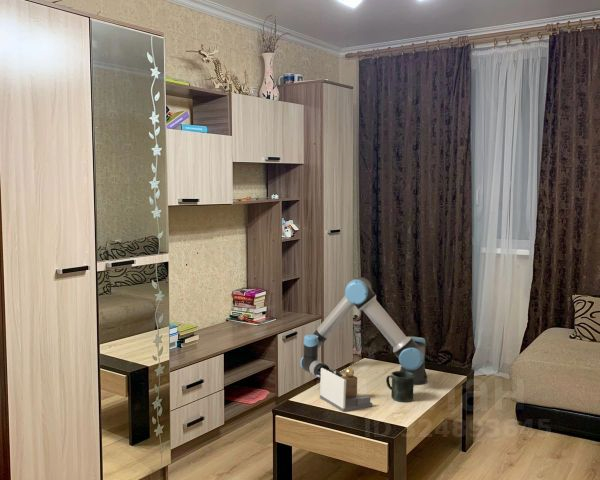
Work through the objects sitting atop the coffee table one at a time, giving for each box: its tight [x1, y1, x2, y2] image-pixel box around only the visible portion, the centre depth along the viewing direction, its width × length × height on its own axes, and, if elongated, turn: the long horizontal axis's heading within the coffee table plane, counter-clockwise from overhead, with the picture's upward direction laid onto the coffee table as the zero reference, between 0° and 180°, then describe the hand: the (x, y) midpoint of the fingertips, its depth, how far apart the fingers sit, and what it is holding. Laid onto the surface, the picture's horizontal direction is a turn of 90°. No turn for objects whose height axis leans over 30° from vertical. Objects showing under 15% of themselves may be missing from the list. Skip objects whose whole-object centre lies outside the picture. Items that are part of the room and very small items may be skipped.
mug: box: [385, 370, 415, 403], centre depth 294 cm, size 11×15×12 cm
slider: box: [341, 367, 358, 398], centre depth 291 cm, size 5×6×13 cm
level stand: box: [319, 368, 373, 413], centre depth 287 cm, size 20×16×14 cm
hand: (345, 383), depth 293 cm, fingers closed
